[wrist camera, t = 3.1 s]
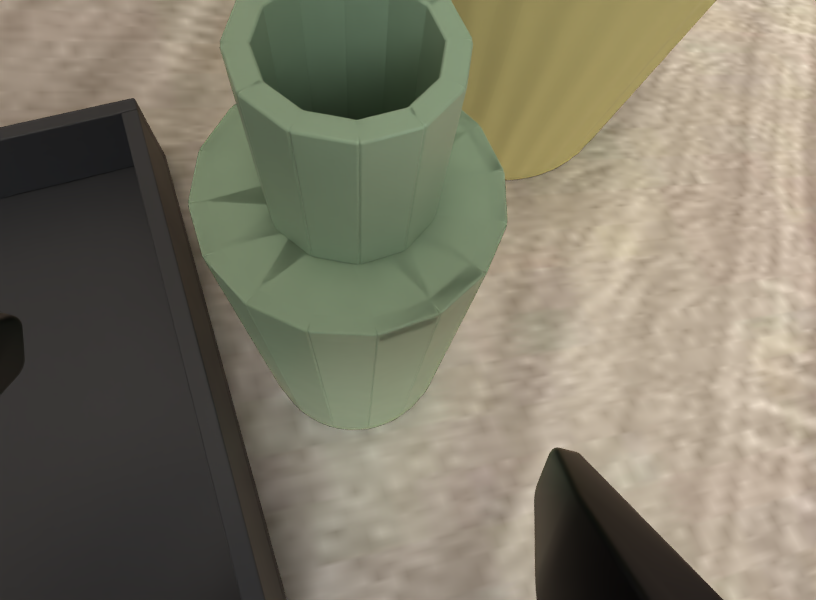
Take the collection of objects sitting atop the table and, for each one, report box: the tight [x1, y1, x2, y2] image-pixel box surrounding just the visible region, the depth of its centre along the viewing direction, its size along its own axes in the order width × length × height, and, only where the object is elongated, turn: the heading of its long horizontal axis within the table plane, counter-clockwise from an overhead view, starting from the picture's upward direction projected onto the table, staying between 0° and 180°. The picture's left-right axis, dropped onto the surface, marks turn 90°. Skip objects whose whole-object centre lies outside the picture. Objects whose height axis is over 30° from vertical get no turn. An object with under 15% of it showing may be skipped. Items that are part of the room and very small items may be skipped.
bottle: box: [188, 0, 507, 430], centre depth 14 cm, size 6×6×14 cm
